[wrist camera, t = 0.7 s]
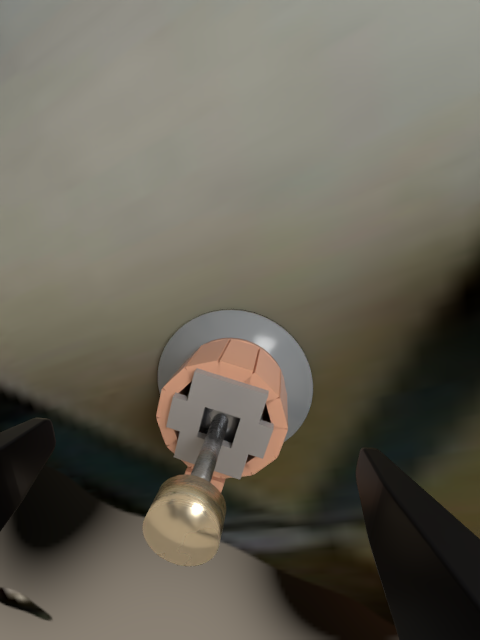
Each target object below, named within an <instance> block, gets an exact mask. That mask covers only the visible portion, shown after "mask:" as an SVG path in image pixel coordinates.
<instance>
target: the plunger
mask: <svg viewBox="0 0 480 640" xmlns="http://www.w3.org/2000/svg"><path fill="white" fill-rule="evenodd" d="M187 396H189V394H188V395H187ZM260 420H263V415H262V416H261V419H260ZM239 421H240V418H238V417H235V416H232V415H228V414H225V413H222V412H219V411H216V410H213V409H210V408H207V407H206V408H205V412H204V415H203V419H202V423H201V427H200V431H199V432H201V433H204V434H207V435H206V437H205V440H204V442H203V445H202V447H201V450H200V452H199V455H198V457H197V460H196V462H195V465H194V467H193V470H192V472H191V475H177V476H174V477H171V478H169V479H168V480H166V481H165V482H164V483H163V484H162V485H161V487H160V489H159V491H158V493H157V495H156V497H155V499H154V501H153V503H152V505H151V507H150V509H149V511H148V513H147V515H146V517H145V519H144V522H143V534H144V537H145V540H146V542H147V543H148V545H149V546H150V548H151V549H152V550H153V551H154V552H155V553H156V554H157V555H159V556H160V557H161V558H163V559H165V560H167V561H168V562H171V563H174V564H177V565H181V566H197V565H202V564H204V563H206V562H208V561H210V560H211V559H212V558H213V557H214V556H215V554H216V553H217V551H218V548H219V543H220V538H221V534H222V529H223V524H224V520H225V515H226V503H225V500H224V497H223V496H222V494H221V492H220V491H219V490H218V489H217V488H216V487H215V486H214V485H213V484H212V483H210V482H211V479H212V476H213V472H214V469H215V466H216V462H217V459H218V456H219V453H220V449H221V446H222V443H223V440H225V441H228V442H231V443H233V440H234V437H235V434H236V430H237V427H238V424H239Z"/></svg>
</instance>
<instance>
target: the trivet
mask: <svg viewBox="0 0 480 640" xmlns="http://www.w3.org/2000/svg"><path fill="white" fill-rule="evenodd" d="M220 338H240V339H244V340H247V341H250V342H253V343H255V344H257V345H259V346H260V347H262V348H263V349H265V350H266V351H267V352H268V353H269V354H270V355H271V356H272V357H273V358H274V359H275V360H276V362H277V363H278V365H279V367H280V369H281V371H282V373H283V376H284V381H285V388H286V392H287V407H288V431H287V434H286V436H285V439H284V441H286V440H287V439H288V438H290V437H291V436H292V435H293V434H294V433H295V432H296V431H297V430H298V429H299V428H300V426H301V425H302V423H303V422H304V420H305V418H306V416H307V414H308V412H309V409H310V406H311V402H312V395H313V381H312V374H311V370H310V366H309V363H308V360H307V358H306V356H305V353H304V351H303V350H302V348H301V347H300V345H299V343H298V342H297V341H296V340H295V339H294V337H293V336H292V335H291V334H290V333H289V332H288V331H287V330H286V329H284V328H283V327H282V326H281V325H279V324H278V323H276V322H275V321H273V320H271V319H269V318H267V317H265V316H263V315H260V314H257V313H255V312H250V311H246V310H238V309H222V310H216V311H211V312H208V313H205V314H202V315H200V316H198V317H196V318H194V319H192V320H190V321H189V322H187V323H186V324H185V325H183V326H182V327H181V328H180V329H179V330H178V331H177V332H176V333H175V334H174V335H173V336H172V337H171V338H170V340H169V341H168V343H167V345H166V346H165V348H164V350H163V353H162V355H161V358H160V362H159V367H158V387H159V392H160V395H161V391H162V388H163V387H164V386H165V384H166V383H167V382H168V381H169V379H170V378H171V377H172V376H173V375H174V373H175V372H176V371H177V370H178V369H179V367H180V366H181V365H182V364H183V363H184V362H185V361H186V360H187V359H188V358H189V357H190V356H191V355H192V354H193V353H194V351H195V350H197V349H198V348H199V347H200V346H201V345H203V344H205V343H207V342H210V341H212V340H216V339H220Z"/></svg>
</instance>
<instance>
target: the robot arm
mask: <svg viewBox="0 0 480 640" xmlns="http://www.w3.org/2000/svg"><path fill="white" fill-rule="evenodd" d="M55 444H56V440H55V435H54V430H53V425H52V422H51V420H50V419H46V418H34V419H31V420H29V421H26V422H24V423H22V424H19V425H17V426H15V427H12V428H10V429H8V430H5V431H3V432H1V433H0V531H1V530H2V528H3V527H4V525H5V524H6V523H7V522H8V520H9V519H10V517H11V516H12V515H13V513H14V512H15V511H16V509H17V508H18V506H19V505H20V503H21V502H22V501H23V499H24V497H25V496H26V494H27V493H28V491H29V489H30V488H31V486H32V484H33V483H34V481H35V480H36V478H37V476H38V475H39V473H40V471H41V470H42V468H43V467H44V465H45V463H46V462H47V460H48V458H49V457H50V455H51V453H52V452H53V450H54V448H55ZM356 481H357V486H358V491H359V495H360V500H361V505H362V510H363V515H364V520H365V525H366V529H367V534H368V538H369V542H370V546H371V549H372V553H373V556H374V559H375V562H376V566H377V569H378V572H379V575H380V579H381V582H382V585H383V588H384V591H385V595H386V598H387V601H388V604H389V608H390V611H391V614H392V617H393V620H394V624H395V627H396V630H397V633H398V637H399V640H480V539H479V538H478V537H477V536H476V535H475V534H473V533H472V532H471V531H470V530H469V529H468V528H467V527H465V526H464V525H463V524H462V523H461V522H460V521H459V520H458V519H456V518H455V517H454V516H453V515H452V514H451V513H450V512H448V511H447V510H446V509H445V508H444V507H443V506H442V505H441V504H439V503H438V502H437V501H436V500H435V499H434V498H433V497H432V496H430V495H429V494H428V493H427V492H426V491H425V490H424V489H422V488H421V487H420V486H419V485H418V484H417V483H416V482H415V481H413V480H412V479H411V478H410V477H409V476H408V475H407V474H406V473H404V472H403V471H402V470H401V469H400V468H399V467H398V466H396V465H395V464H394V463H393V462H392V461H391V460H390V459H389V458H387V457H386V456H385V455H384V454H383V453H382V452H381V451H379V450H378V449H375V448H366V447H363V448H362V449H361V450H360V453H359V458H358V463H357V468H356Z"/></svg>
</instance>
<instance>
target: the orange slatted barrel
mask: <svg viewBox="0 0 480 640" xmlns="http://www.w3.org/2000/svg"><path fill="white" fill-rule="evenodd" d="M188 394H189V396H187V395H188ZM206 407H207V408H210V409H213V410H216V411H219V412H222V413H225V414H228V415H232V416H235V417H238V418H240V421H239V424H238V427H237V430H236V434H235V437H234V440H233V443H231V442H228V441H225V440H223V443H222V446H221V449H220V453H219V456H218V459H217V462H216V466H215V469H214V472H213V476H212V479H211V482H210V483H212V484H213V485H214V486H215V487H216V488H217V489H218V490H219V491H220V492H222V489H223V485H224V482H225V478H232V477H234V478H237V479H241V476H250V475H252V473H253V474H255V473H257V472H258V471H259V470H261V469H262V468H264V467H265V466H266V465H268V464H269V463H271V462H272V461H273V460H275V459H276V458H277V456H278V455H279V453H280V450H281V447H282V445H283V442H284V439H285V436H286V434H287V431H288V407H287V392H286V388H285V381H284V376H283V373H282V371H281V369H280V367H279V365H278V363H277V362H276V360H275V359H274V358H273V357H272V356H271V355H270V354H269V353H268V352H267V351H266V350H265V349H263V348H262V347H260V346H259V345H257V344H255V343H253V342H250V341H247V340H244V339H240V338H220V339H216V340H212V341H210V342H207V343H205V344H203V345H201V346H200V347H199V348H198V349H197V350H195V351H194V353H193V354H192V355H191V356H190V357H189V358H188V359H187V360H186V361H185V362H184V363H183V364H182V365H181V366H180V367H179V369H178V370H177V371H176V372H175V373H174V375H173V376H172V377H171V378H170V379H169V381H168V382H167V383H166V384H165V386H164V387H163V388H162V391H161V395H160V400H159V405H158V410H157V414H156V417H157V418H156V419H157V422H158V425H159V427H160V430H161V433H162V436H163V438H164V441H165V444H166V445H168V446H167V447H168V448H169V449H170V450H171V451H172V452H173V453H174V458H177V459H180V460H182V461H183V462H184V463H185V464H186V465H187V466H188V467H187V469H186V472H185V475H191V472H192V470H193V467H194V465H195V462H196V460H197V457H198V455H199V452H200V450H201V447H202V445H203V442H204V440H205V437H206V435H207V434H204V433H201V432H199V431H200V427H201V423H202V419H203V415H204V412H205V408H206ZM262 415H263V420H260V419H261V416H262Z"/></svg>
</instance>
